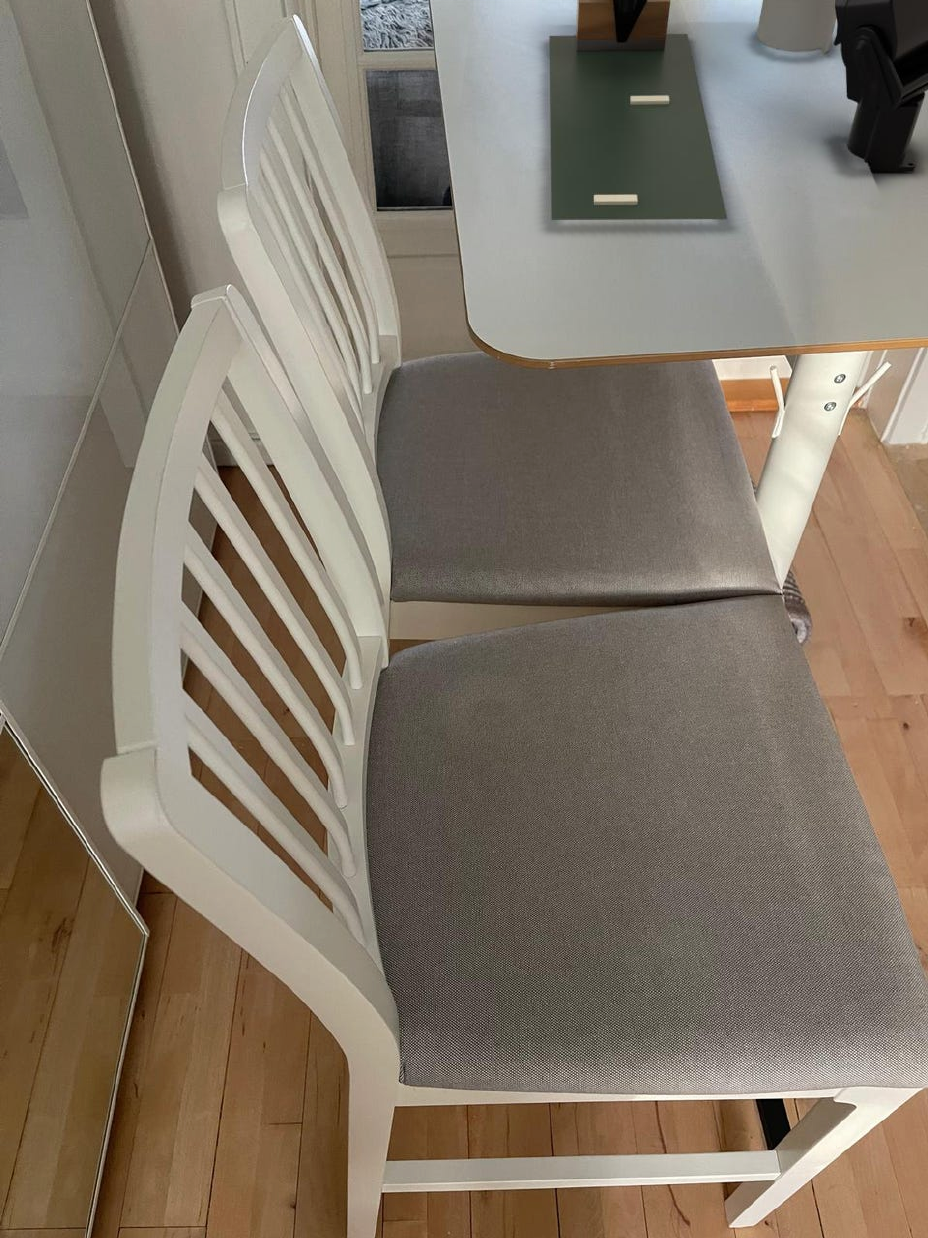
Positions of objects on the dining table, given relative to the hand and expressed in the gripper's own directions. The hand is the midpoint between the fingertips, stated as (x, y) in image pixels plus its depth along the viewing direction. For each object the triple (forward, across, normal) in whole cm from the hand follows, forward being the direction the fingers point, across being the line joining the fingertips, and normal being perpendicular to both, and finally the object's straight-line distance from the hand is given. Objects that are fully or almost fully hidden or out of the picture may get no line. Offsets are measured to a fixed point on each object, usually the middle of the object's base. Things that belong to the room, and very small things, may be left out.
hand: (620, 33), depth 112 cm
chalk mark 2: (+1, +15, +2) cm, 15 cm away
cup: (+2, -1, +20) cm, 20 cm away
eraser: (+1, 0, 0) cm, 1 cm away
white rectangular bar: (+1, +35, -2) cm, 35 cm away
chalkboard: (+2, +18, 0) cm, 18 cm away
